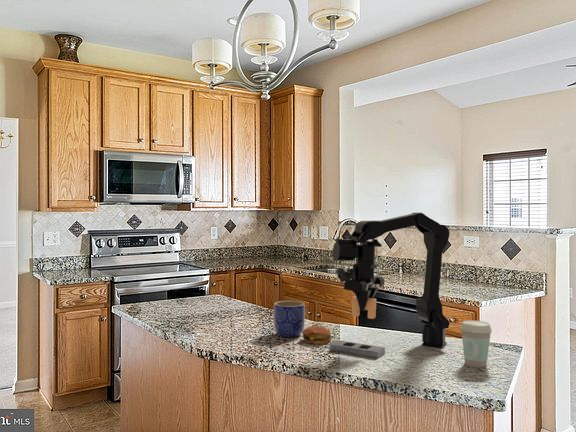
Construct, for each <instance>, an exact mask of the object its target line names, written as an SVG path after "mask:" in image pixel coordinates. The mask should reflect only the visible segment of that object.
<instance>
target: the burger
mask: <svg viewBox="0 0 576 432" xmlns="http://www.w3.org/2000/svg"><path fill="white" fill-rule="evenodd" d="M331 334H332V332H331V330H330V329H329V328H327V327H324V326H319V325H317V326H316V325H313V326H312V325H311V326H308V327H306V328H304V329H303V331H302V337H303V339H304V341H305V343H308V344H313V345H316V346H317V345H327V344H329V343H330V341H331V340H332V338H333V337H332V335H331Z"/></svg>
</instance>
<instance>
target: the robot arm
mask: <svg viewBox="0 0 576 432" xmlns="http://www.w3.org/2000/svg"><path fill="white" fill-rule="evenodd" d="M410 227H415V228H416V230H417V231H418V232H420V233H421V234H422V236H423V243H424V246H425V249H426V261H425V269H424V270H425V271H424V273H425V274H424V285H423V293H422V295H421V297H420V298H418V297H417V298H416V299H415V301H416V302H415V303H416V306H415V308H414V311H416V315H417V317H418V318H419V319H420V321H421V324H422V325H423V328H422V330H421V331H422V332H421V334H422V335H421V336H422V337H421V338H422V339H421V342H422V344H421V345H423V346H425V347H427V346H428V347H433V348H435V347H436V348H444V346H445V345H447V344H448V343H447V341H446V329H449V327H450V324H451V322H450V321H449V319H448V318H447V317H446V316H445V315H444V311H443V303H442V301H441V298H440V285H441V273H442V261H443V253H444V251H445V249H446V247H447V245H448V243H449V238H450V229H449V228H448V226H447V225H444V224H441V223H439V222H437V221H436V220H434V219H433V218H430V217H429V216H428V215H426V214H425V213H423V212H411V213H409V214H404V215H400V216H396V217H391V218H386V219H381V220H360V221H358V222H357V223H356V225H355V227H354V230H353V231H352V232H351V234H350V236H348V238H347V239H345V238H344V239H343V238H336V239H335V242H334V244H333V246H332V247H333V248H332V249H331V250H332V252H331V253H332V258H333V260H334V261H336V262H337V261H339V262H340V261H341V262H346V261H348V262H349V261H350V262H352V261H354V260H356V263H353V265H352V268H350V269H346V268H345V267H341V268H338V269H337V275H336V277H337V278H338V279H339V280H340V283H343V290H347V291H352V293H354V294H355V296H356V297H357V300H358V304H359V308H360V312H364V311H365V310H364V309H365V307H366V304H367V301H368V298H374V297H375V296H376V294H377V292H378V290H379V289H380V288H379V287H376V286H377V285H378V286H380V287H383V286H385V279H384V277H383V276H379V275H375V269H376V268H377V267H378V265H377V264H376V263H375V261H376V260H375V259H376V248H378V247H379V248H381V247H382V246H383V244H382V243H380V242H379V241H378V239H377V238H379V237H381V236H383V235H384V234H387V233H389V232H393V231H398V230H402V229H407V228H410Z"/></svg>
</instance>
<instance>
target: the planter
mask: <svg viewBox="0 0 576 432" xmlns="http://www.w3.org/2000/svg"><path fill="white" fill-rule="evenodd" d="M305 305H306V304H305V303H304V302H302V301H299V300H280V301H276V302H274V303H273V326H274V331H275V332H276V333H277V335H278V336H280V337H283V338H295V337H298V336H301V334H303V330H304V329H305V321H306V320H305V319H306V310H305V309H306V307H305Z"/></svg>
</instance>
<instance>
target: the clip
mask: <svg viewBox="0 0 576 432" xmlns="http://www.w3.org/2000/svg"><path fill="white" fill-rule="evenodd" d="M376 310H377V298H374V297H373V298H368V301H367V304H366V307H365V309H364V311H367V319H369V320H370V319H371V320H374V319H376V317H377V316H376V314H377V311H376ZM360 312H361V311H360V308H359V304H358V300H357V297H356V295H354V296H351V317H359V316H360V315H361V313H360Z"/></svg>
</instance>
